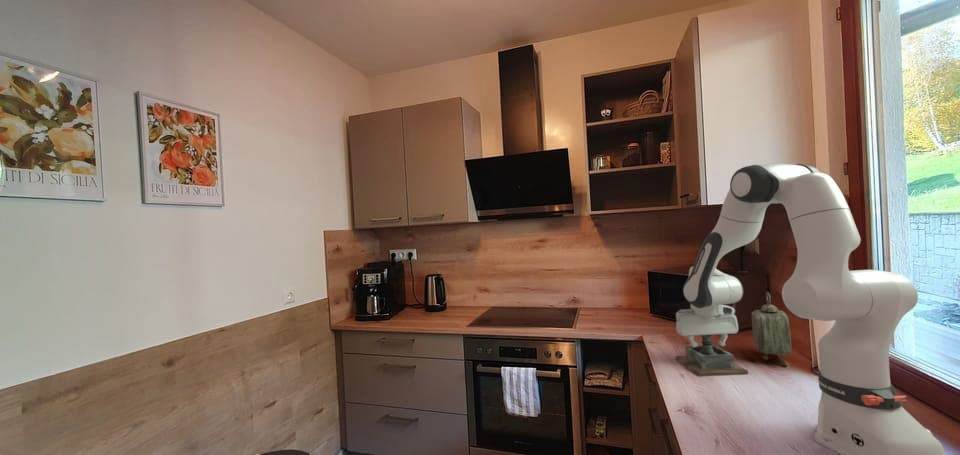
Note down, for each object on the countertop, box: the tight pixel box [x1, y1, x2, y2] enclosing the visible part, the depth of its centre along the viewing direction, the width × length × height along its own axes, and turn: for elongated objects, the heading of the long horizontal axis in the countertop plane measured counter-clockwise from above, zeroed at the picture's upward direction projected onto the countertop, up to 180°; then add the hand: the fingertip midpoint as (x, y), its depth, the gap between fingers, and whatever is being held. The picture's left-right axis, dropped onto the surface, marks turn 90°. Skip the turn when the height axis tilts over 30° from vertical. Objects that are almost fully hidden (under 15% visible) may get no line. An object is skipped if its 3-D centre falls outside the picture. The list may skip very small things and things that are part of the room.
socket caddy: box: [675, 344, 749, 377], centre depth 127 cm, size 16×16×6 cm
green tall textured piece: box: [750, 291, 793, 367], centre depth 128 cm, size 14×9×25 cm, turn 148°
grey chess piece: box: [699, 335, 717, 355], centre depth 127 cm, size 6×6×12 cm
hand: (708, 346), depth 127 cm, fingers open, 8 cm apart
